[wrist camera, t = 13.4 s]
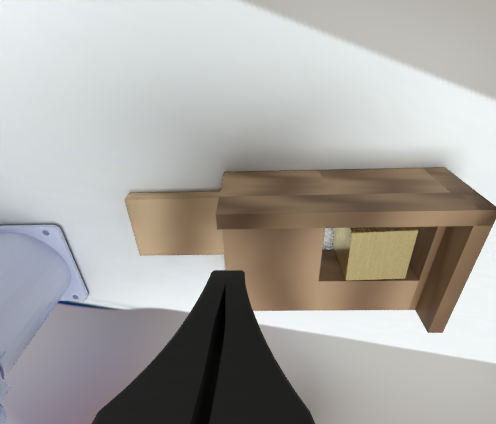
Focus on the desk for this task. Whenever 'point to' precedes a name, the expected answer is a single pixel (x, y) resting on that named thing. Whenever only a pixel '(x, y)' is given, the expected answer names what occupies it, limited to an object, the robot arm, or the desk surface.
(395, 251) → the clip
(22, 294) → the robot arm
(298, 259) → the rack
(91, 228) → the desk surface
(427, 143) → the desk surface
